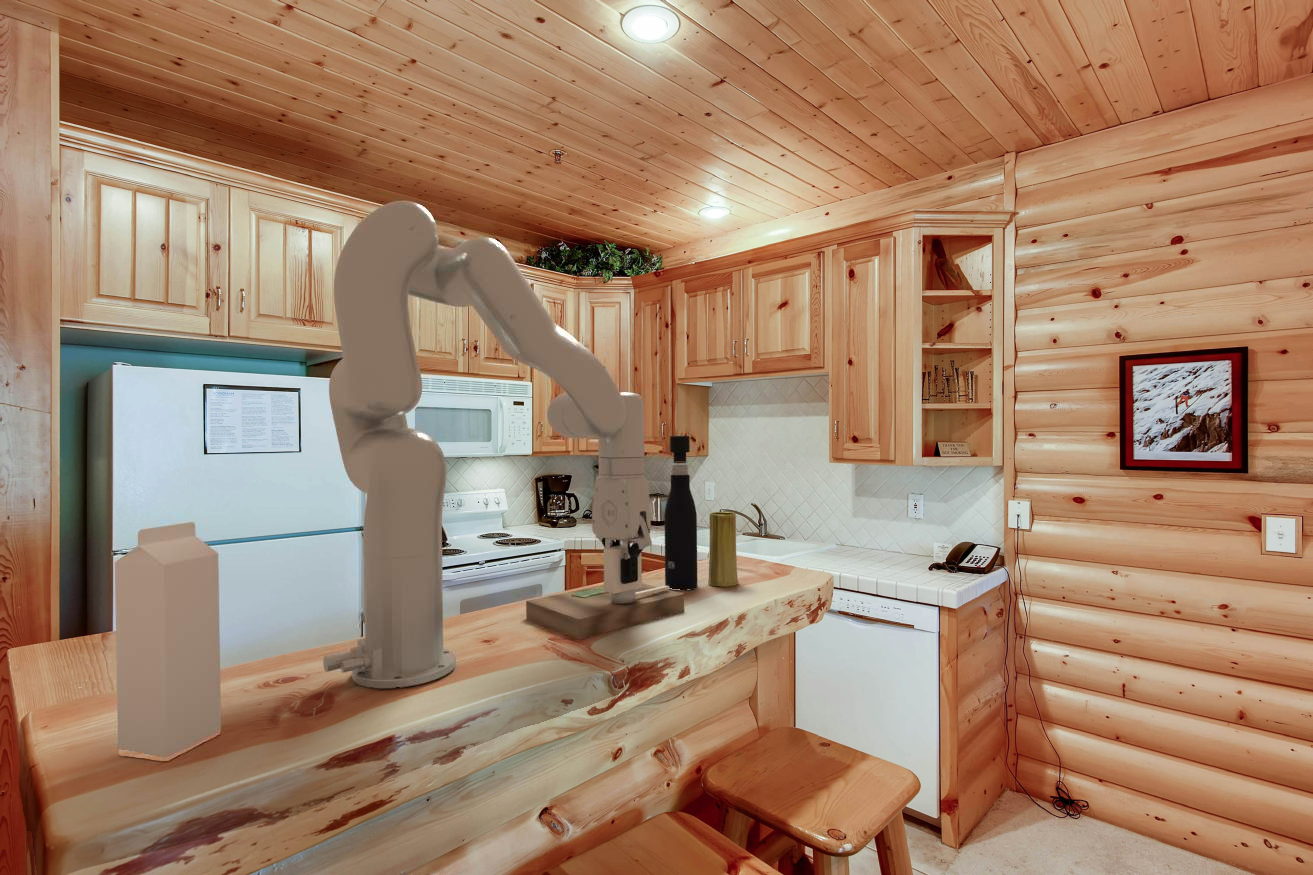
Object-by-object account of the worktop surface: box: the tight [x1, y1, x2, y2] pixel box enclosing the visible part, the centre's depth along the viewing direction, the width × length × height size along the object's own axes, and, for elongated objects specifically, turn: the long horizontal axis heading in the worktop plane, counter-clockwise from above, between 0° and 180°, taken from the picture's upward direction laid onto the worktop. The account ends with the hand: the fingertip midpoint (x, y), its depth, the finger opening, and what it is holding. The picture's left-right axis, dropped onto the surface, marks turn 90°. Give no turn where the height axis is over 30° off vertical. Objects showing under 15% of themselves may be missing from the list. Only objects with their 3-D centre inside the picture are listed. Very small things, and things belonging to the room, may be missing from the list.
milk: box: [114, 521, 222, 758], centre depth 65 cm, size 6×6×22 cm
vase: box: [707, 511, 739, 588], centre depth 132 cm, size 6×6×14 cm
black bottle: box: [663, 435, 698, 591], centre depth 130 cm, size 6×6×30 cm
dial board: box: [525, 582, 685, 640], centre depth 111 cm, size 22×15×3 cm
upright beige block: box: [603, 543, 670, 604], centre depth 110 cm, size 13×4×9 cm, turn 132°
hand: (623, 579), depth 107 cm, fingers closed on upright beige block, 2 cm apart
